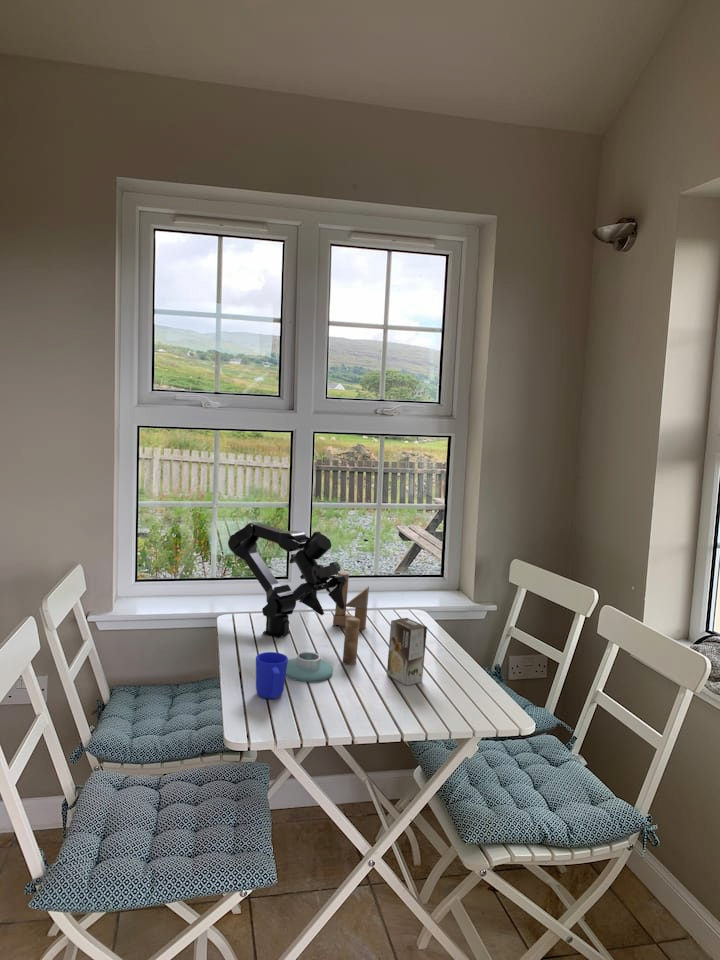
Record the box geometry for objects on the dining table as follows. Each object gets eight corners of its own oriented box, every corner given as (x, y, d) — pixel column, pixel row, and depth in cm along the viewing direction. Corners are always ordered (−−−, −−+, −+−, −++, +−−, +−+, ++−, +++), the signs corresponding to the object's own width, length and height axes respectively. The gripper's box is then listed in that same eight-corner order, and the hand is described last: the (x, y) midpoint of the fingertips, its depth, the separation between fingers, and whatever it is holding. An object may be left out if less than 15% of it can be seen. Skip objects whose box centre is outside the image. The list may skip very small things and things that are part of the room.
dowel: (340, 662, 219) (343, 619, 217) (346, 658, 223) (350, 616, 221) (352, 665, 217) (355, 622, 216) (358, 661, 221) (362, 619, 219)
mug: (258, 709, 184) (260, 670, 183) (251, 688, 196) (253, 652, 194) (290, 707, 187) (293, 669, 185) (282, 687, 198) (284, 651, 197)
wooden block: (363, 630, 250) (368, 577, 247) (332, 625, 252) (336, 573, 249) (365, 626, 253) (370, 575, 251) (335, 622, 255) (339, 571, 253)
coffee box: (423, 682, 210) (428, 626, 208) (406, 686, 206) (411, 630, 204) (402, 670, 217) (407, 617, 215) (385, 674, 213) (390, 620, 211)
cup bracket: (273, 673, 207) (274, 657, 206) (299, 658, 219) (300, 643, 219) (316, 686, 201) (318, 670, 200) (341, 670, 213) (342, 655, 213)
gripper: (302, 557, 217) (328, 603, 212) (344, 549, 231) (369, 592, 226) (281, 577, 223) (305, 623, 217) (323, 568, 237) (347, 611, 232)
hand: (333, 611), depth 223 cm, fingers open, 9 cm apart
